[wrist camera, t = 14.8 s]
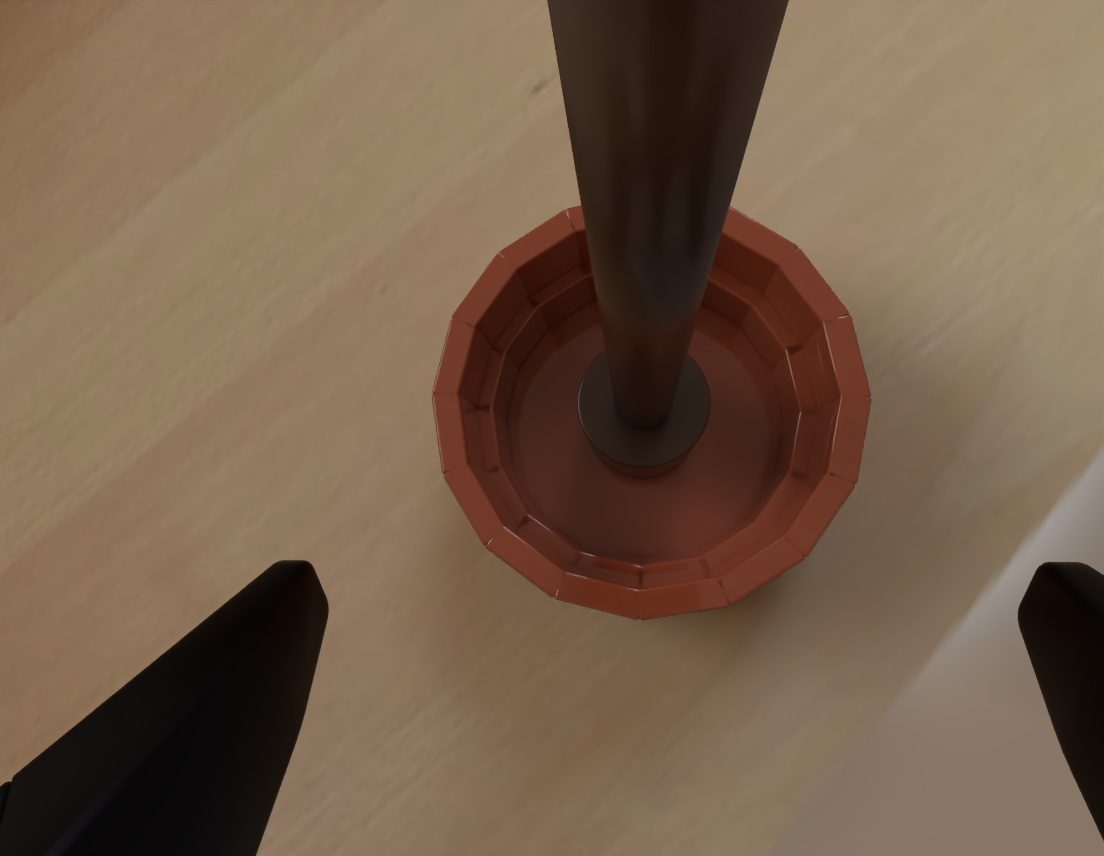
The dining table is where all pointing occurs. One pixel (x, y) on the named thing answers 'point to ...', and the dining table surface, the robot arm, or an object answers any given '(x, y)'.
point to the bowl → (709, 469)
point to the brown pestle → (656, 198)
